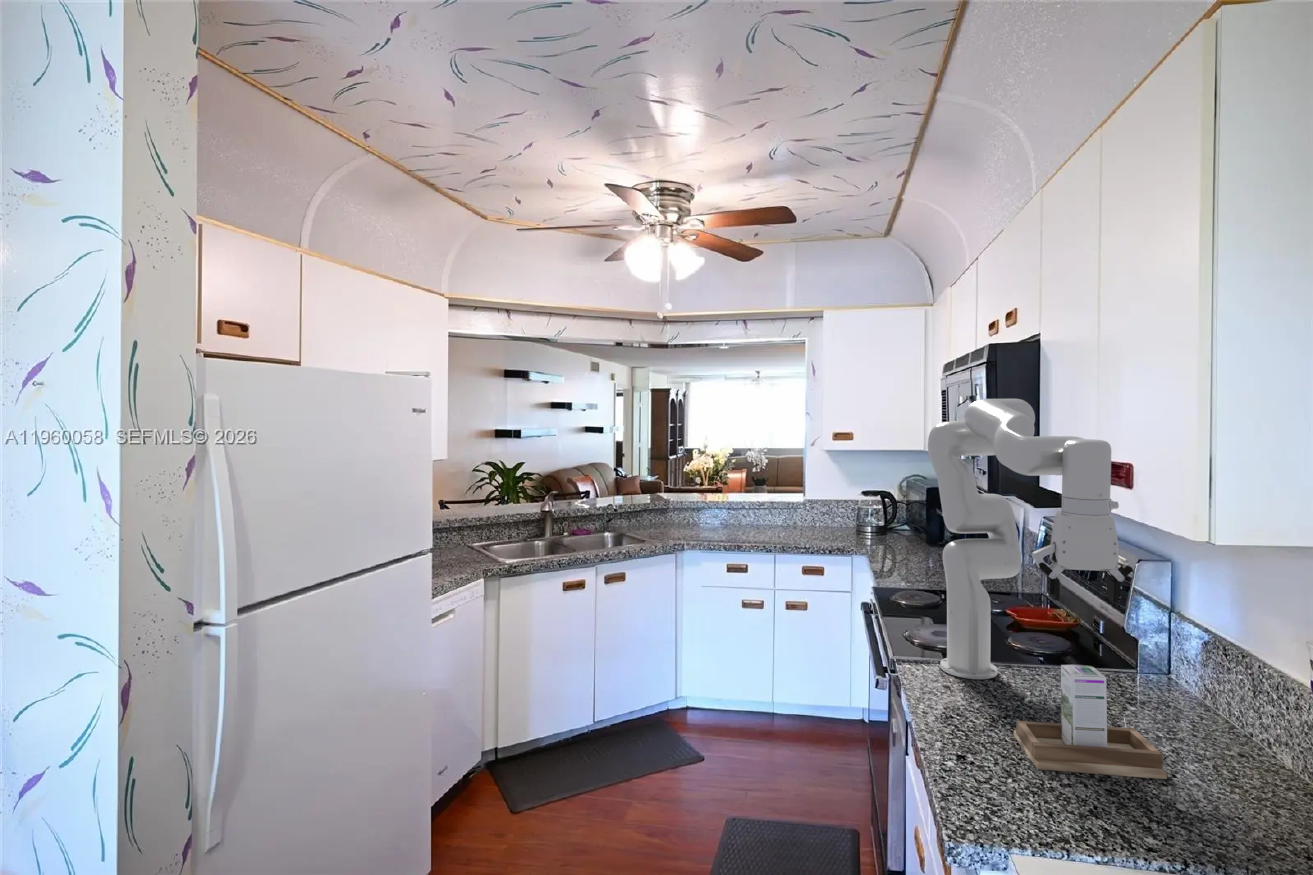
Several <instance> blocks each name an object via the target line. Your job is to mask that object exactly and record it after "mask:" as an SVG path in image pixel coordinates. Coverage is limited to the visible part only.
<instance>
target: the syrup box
mask: <svg viewBox="0 0 1313 875" xmlns="http://www.w3.org/2000/svg"><path fill="white" fill-rule="evenodd" d="M1107 692H1108V691H1107V677H1106V676H1105V675H1104V674H1103V673H1101V672H1100V671H1099V670H1098V669H1096V668H1095V667H1094V666H1092V665H1085V664H1061V665H1060V702H1061V703H1060V709H1061V710H1060V720H1061V721H1060V722H1061V723H1060V724H1061V741H1062V742H1063V744H1067V745H1081V746H1095V747H1107V727H1108V705H1107V704H1108V702H1107V701H1108V700H1107V699H1108V698H1107Z"/></svg>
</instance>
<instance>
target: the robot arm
mask: <svg viewBox="0 0 1313 875" xmlns="http://www.w3.org/2000/svg"><path fill="white" fill-rule="evenodd" d="M963 418H964V420H951V421H943V422H941V423H938V424H937V425H935V426H933V427H932V429H931V430H930V432H929V435H928V438H927V451H928V452H927V453H928V456H929V459H930V462H931V465H932V468H933V471H934V473H935V476H936V478H937V483H938V492H939V499H940V504H941V511H942V516H943V522H944V524H945V527H946V529H947V530H948V531H949V532H951V533H955V534H987V535H988V536H987V537H988V538H962V539H961V538H960V539H956V540H953V541H950V542H949V543H947V544H945V546H944V548H943V551H942V563H943V569H944V573H945V574H944V575H945V582H946V584H945V585H946V657H945V658H943V659H941V660H940V661H939V667H940V669H941V670H942V671H943V672H945V673H947V674H949V675H951V676H954V677H958V678H963V679H968V680H990V679H993V678H995V677H997V676H998V671H999V670H998V667H997V666H995V665H994V664H993V663H991V618H992V617H991V615H992V614H991V598H990V595H989V593H988V591H987V589H986V588H985V587H984V585H983V584H982V583H981V581H982V580H991V579H992V580H993V579H995V580H996V579H997V580H998V579H1009V578H1014V577H1016V576H1017V575H1018V574H1019V573H1020V571H1021V567H1022V552H1021V546H1020V542H1019V537H1018V536H1019V535H1018V530H1017V529H1018V528H1017V523H1016V518H1015V514H1014V510H1013V507H1012V505H1011V503H1010V502H1009V500H1008V499H1007V498H1006V497H1004V496H1003V495H1001V494H998V493H979V491H978V487H977V482H976V477H975V473H974V471H972V469H971V467H970V466H969V465H968V464H967V463H966V462H965V461H964V460H963V459H962V458H961V457H964V456H966V457H967V456H968V457H969V456H971V457H975V456H976V457H977V456H979V457H980V456H981V457H983V456H995V457H996V458H997V461H998V462H999V463H1000V464H1001V465H1003V466H1005V467H1007V469H1009V470H1011V471H1013V472H1014V473H1017V474H1019V475H1023V476H1027V477H1028V476H1029V477H1031V476H1032V477H1033V476H1035V477H1037V476H1061V477H1062V478H1061V511H1060V512H1056V513H1055V516H1054V520H1053V524H1052V526H1053V527H1052V532H1051V538H1050V543H1049V545H1046V546H1043V547H1042V548H1039V549H1037V550H1035V551H1033V552H1032V553H1031V556H1032V559H1033V560H1034V563H1036V566H1037V567H1038V568H1039V569H1040V570H1041V571H1042V572H1043V573H1044V574H1045V575H1046V593H1047V594H1048V595H1049V597H1050V598H1051V599H1053V600H1054V601H1059V600H1060V590H1061V588H1060V586H1061V581H1060V579H1059V578H1058V576H1059V575H1061V573H1062V572H1064V570H1076V571H1103V572H1104V571H1106V572H1107V574H1108V575H1109V576H1108V577H1107V579H1106V599H1107V600H1109V601H1110V602H1112V603H1114V604H1119V599H1120V598H1121V596H1122V595H1121V594H1122V582H1123V581H1125V578H1126V577H1127V576H1129V575H1130V574H1132V572H1133V571H1134V570H1133V569H1134V568H1135V566H1136V565H1137V563H1138V561H1139V557H1138V556H1136V555H1134V554H1133V553H1131V552H1129V551H1127V550H1124V549H1122V548H1120V547H1119V542H1118V541H1119V540H1118V539H1119V538H1118V531H1117V526H1116V521H1115V517H1114V515H1112V514H1111V513H1112V510H1114V509H1115V510H1118V509H1119V505H1120V504H1119V502H1118V501H1114V500H1112V498H1111V487H1112V486H1111V480H1112V446H1111V445H1110V443H1109V442H1108V441H1105V440H1103V439H1102V440H1101V439H1092V438H1091V439H1090V438H1089V439H1088V438H1083V437H1079V436H1072V435H1071V436H1070V435H1068V436H1067V435H1066V436H1065V435H1063V436H1062V435H1059V436H1058V435H1055V436H1054V435H1049V436H1048V435H1042V436H1040V435H1038V436H1034V435H1035V423H1036V414H1035V411H1034V408H1033V407H1032V406H1031V404H1029V403H1028V402H1027V401H1025V400H1024V399H1021V398H1020V399H1019V398H984V399H979V400H976V401H973V402H972V403H971V404H969V405H968V406H967V408H966V409H965V411H964V415H963ZM1046 556H1049V559H1050V560H1049V561H1051V562H1052V563H1051V564H1049V565H1047V564H1046V562H1045V560H1044V558H1045V557H1046ZM1119 557H1121V558H1124V560H1125V561H1124V564H1122V565H1121V566H1120V567H1119V568H1118V566H1119Z"/></svg>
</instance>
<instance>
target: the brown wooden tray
mask: <svg viewBox="0 0 1313 875" xmlns="http://www.w3.org/2000/svg"><path fill="white" fill-rule="evenodd" d="M1015 727H1016V728H1015V729H1014V730H1013V736H1014V739H1016V740H1017V742H1018V744H1019V745H1020V746H1021V748H1022V750H1023V751H1024V752H1025V754H1026V755H1027V756H1028V759H1030V761H1031V762H1032V764H1033V765H1034V766H1035V768H1036V770H1045V771H1054V772H1055V771H1057V772H1067V773H1068V772H1070V773H1081V774H1083V773H1084V774H1092V775H1093V774H1095V775H1096V774H1097V775H1106V776H1107V775H1108V776H1120V777H1121V776H1122V777H1134V778H1143V779H1144V778H1146V779H1161V780H1168V772H1166V771H1165V770H1164V769H1163V754H1162V753H1161V751H1160V750H1158V749H1157V748H1156V747H1155V746H1154V745H1153V744H1151V743H1150V742H1149V741H1148V740H1147V739H1146V738H1145V737H1144V736H1143V735H1142V734H1141V733H1139V731H1137V729H1135V728H1133V727H1132V728H1131V727H1121V726H1119V727H1117V726H1107V747H1095V746H1081V745H1067V744H1063V742H1062V741H1061V723H1059V722H1058V723H1057V722H1046V721H1045V722H1042V721H1030V720H1029V721H1028V720H1027V721H1026V720H1016V721H1015Z"/></svg>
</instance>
